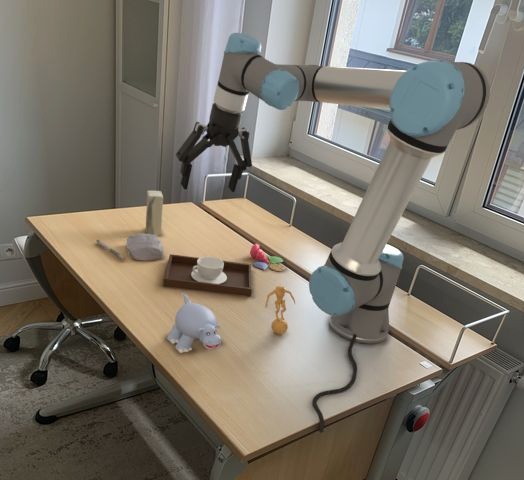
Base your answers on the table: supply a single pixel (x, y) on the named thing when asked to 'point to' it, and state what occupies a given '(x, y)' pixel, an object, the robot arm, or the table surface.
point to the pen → (109, 249)
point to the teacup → (209, 270)
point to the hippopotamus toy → (194, 327)
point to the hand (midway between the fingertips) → (208, 188)
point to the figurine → (279, 324)
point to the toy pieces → (265, 259)
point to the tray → (181, 278)
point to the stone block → (144, 247)
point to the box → (154, 212)
